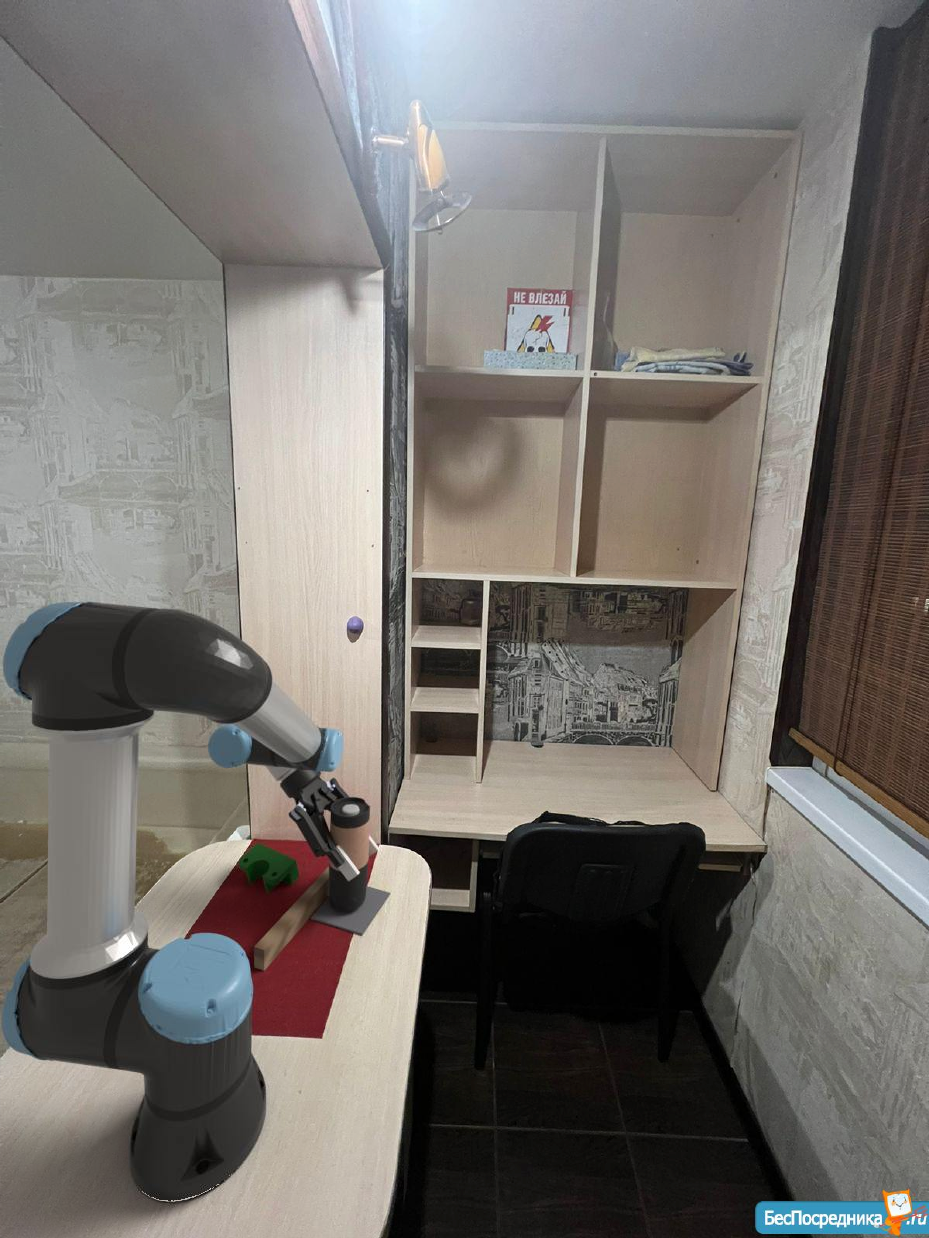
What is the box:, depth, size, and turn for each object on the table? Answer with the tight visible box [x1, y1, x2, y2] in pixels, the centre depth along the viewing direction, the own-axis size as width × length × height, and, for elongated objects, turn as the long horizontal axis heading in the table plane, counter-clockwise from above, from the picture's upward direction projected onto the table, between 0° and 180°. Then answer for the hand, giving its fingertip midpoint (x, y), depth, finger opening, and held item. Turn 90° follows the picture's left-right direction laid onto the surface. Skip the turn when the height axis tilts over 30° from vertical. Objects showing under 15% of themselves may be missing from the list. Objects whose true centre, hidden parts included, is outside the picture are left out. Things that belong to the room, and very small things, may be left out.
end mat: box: [310, 885, 391, 936], centre depth 104 cm, size 12×11×1 cm
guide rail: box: [253, 866, 329, 972], centre depth 100 cm, size 25×2×4 cm, turn 163°
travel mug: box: [328, 796, 371, 911], centre depth 103 cm, size 8×8×20 cm
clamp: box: [237, 842, 300, 894], centre depth 110 cm, size 12×6×9 cm, turn 57°
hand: (364, 864), depth 102 cm, fingers closed on travel mug, 7 cm apart
